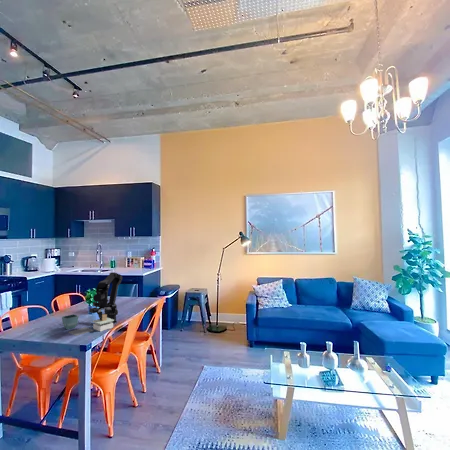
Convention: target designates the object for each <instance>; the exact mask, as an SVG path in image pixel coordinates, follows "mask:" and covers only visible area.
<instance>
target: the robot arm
mask: <svg viewBox="0 0 450 450" xmlns="http://www.w3.org/2000/svg"><path fill="white" fill-rule="evenodd" d="M122 281H123V276H122V275H121V274H119V273H118V272H114V271H113V272H112V271H111V272H110V273H109V274H108V276H106V277H105V278H104V280H100V281H99V282H98V284H97V286H96V289H95V294H94V295H93V299H92V300H93V302H92V306H93V307H90V308H89V313H91V314H97V315H98V318H99V319H100V320H102V314H103V311H102V310H104V313H105V314H107V318H110V319H114V321H112V323H113V324H115V323H117V322H118V321H117V315H119V310H118V308H117V306H118V305H117V304H116V300H117V295H118V289H119V286H120V285H121V283H122ZM110 284H111V286H110ZM110 287H111V289H110ZM109 289H110V294H108V293H109ZM108 295H109V298H108Z"/></svg>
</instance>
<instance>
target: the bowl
mask: <svg viewBox="0 0 450 450" xmlns="http://www.w3.org/2000/svg"><path fill="white" fill-rule="evenodd" d="M92 325H93V326H92V327H93V328H92V330H94V331H98V332H103V331H107V330H110V329H113V328H114V323H112V322H108V323H104V324H101V325H100V324H97V323H93V324H92Z"/></svg>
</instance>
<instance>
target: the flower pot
mask: <svg viewBox="0 0 450 450" xmlns="http://www.w3.org/2000/svg"><path fill="white" fill-rule="evenodd" d="M61 320H62V321H61V322H62V325H63V328H65V329H66V330H72V329H76V327H77V325H78V323H79V315H76V314H69V315H65V316H61Z"/></svg>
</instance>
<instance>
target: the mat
mask: <svg viewBox="0 0 450 450" xmlns="http://www.w3.org/2000/svg"><path fill="white" fill-rule="evenodd" d="M94 331H95V329H93V328H92V329H91V328H89V327H86V326H85V327H82V328H77V329H74V330H70V331H68V332H67V333H68V334H70V335H73V336H75V337H77V336H80V335H84V334H87V333H90V332H94Z"/></svg>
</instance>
